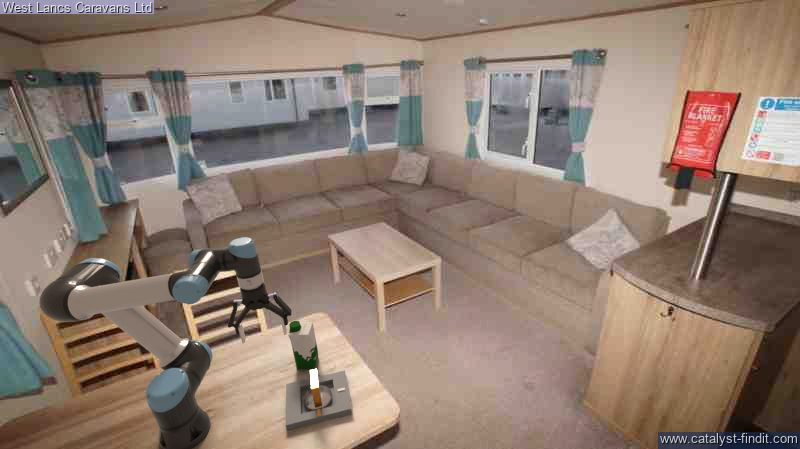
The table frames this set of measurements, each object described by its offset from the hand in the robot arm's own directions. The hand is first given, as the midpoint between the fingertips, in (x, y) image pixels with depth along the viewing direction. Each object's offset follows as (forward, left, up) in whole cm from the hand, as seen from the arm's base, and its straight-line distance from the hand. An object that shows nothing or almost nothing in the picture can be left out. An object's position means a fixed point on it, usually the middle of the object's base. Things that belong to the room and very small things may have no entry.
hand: (265, 336), depth 130 cm
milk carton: (+11, +12, -27) cm, 31 cm away
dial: (+14, -8, -27) cm, 31 cm away
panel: (+14, -8, -27) cm, 31 cm away
